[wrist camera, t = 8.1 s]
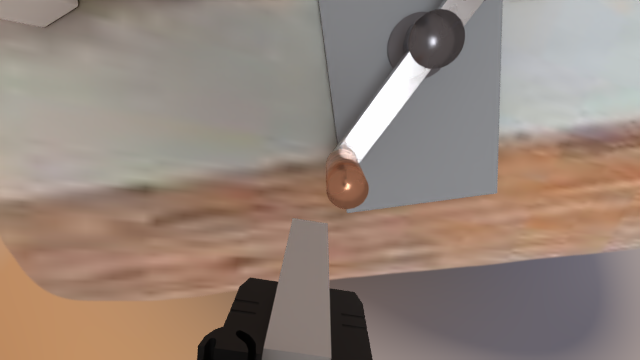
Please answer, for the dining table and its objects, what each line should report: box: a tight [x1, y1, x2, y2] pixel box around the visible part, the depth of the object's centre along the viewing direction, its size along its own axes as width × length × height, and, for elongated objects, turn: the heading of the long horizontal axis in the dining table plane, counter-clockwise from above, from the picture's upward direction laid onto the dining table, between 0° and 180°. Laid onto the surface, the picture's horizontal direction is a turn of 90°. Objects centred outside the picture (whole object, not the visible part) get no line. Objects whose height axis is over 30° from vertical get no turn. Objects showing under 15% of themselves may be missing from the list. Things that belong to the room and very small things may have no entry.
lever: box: [326, 0, 485, 209], centre depth 24 cm, size 22×4×11 cm, turn 145°
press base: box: [318, 0, 503, 213], centre depth 30 cm, size 25×17×4 cm
